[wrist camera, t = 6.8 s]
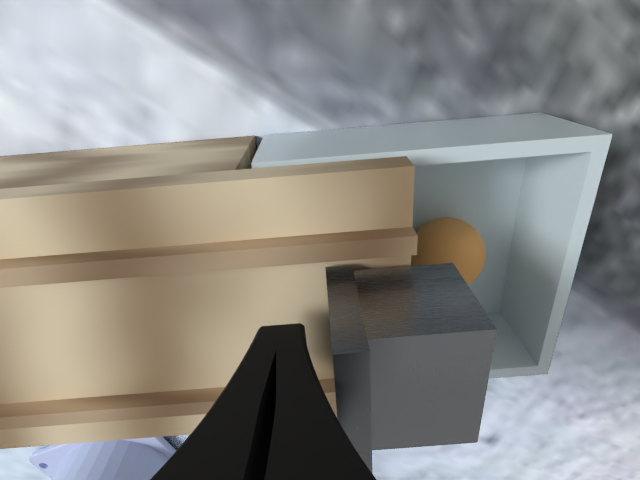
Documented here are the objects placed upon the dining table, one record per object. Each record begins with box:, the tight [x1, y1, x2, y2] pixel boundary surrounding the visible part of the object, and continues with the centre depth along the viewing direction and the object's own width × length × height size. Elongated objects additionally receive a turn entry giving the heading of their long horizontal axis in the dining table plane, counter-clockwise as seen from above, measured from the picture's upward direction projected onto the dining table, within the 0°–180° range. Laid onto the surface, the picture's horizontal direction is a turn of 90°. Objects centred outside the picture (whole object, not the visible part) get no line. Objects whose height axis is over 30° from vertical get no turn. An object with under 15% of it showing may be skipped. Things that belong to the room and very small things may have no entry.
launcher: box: [0, 136, 418, 449], centre depth 15 cm, size 18×10×6 cm, turn 94°
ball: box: [411, 217, 486, 285], centre depth 16 cm, size 3×3×3 cm
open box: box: [251, 113, 612, 378], centre depth 16 cm, size 11×10×4 cm
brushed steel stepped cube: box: [325, 263, 497, 473], centre depth 11 cm, size 4×4×4 cm
